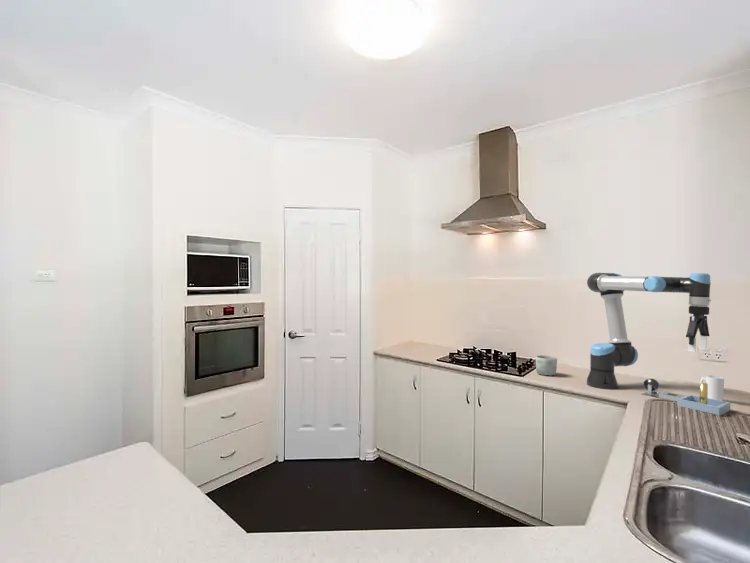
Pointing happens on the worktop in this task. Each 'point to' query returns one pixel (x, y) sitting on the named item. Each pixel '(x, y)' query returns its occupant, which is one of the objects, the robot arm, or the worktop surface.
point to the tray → (712, 407)
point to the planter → (546, 365)
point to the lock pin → (704, 393)
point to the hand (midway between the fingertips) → (697, 350)
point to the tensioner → (654, 385)
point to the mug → (714, 386)
